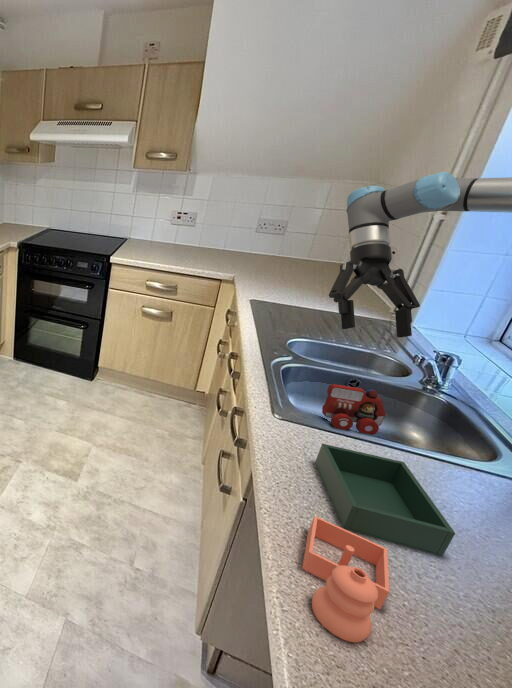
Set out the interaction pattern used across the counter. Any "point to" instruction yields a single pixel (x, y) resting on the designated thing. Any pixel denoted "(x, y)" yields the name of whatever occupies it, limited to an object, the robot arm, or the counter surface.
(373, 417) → the toy fire truck
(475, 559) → the counter surface
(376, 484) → the toy tray
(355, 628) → the pottery
